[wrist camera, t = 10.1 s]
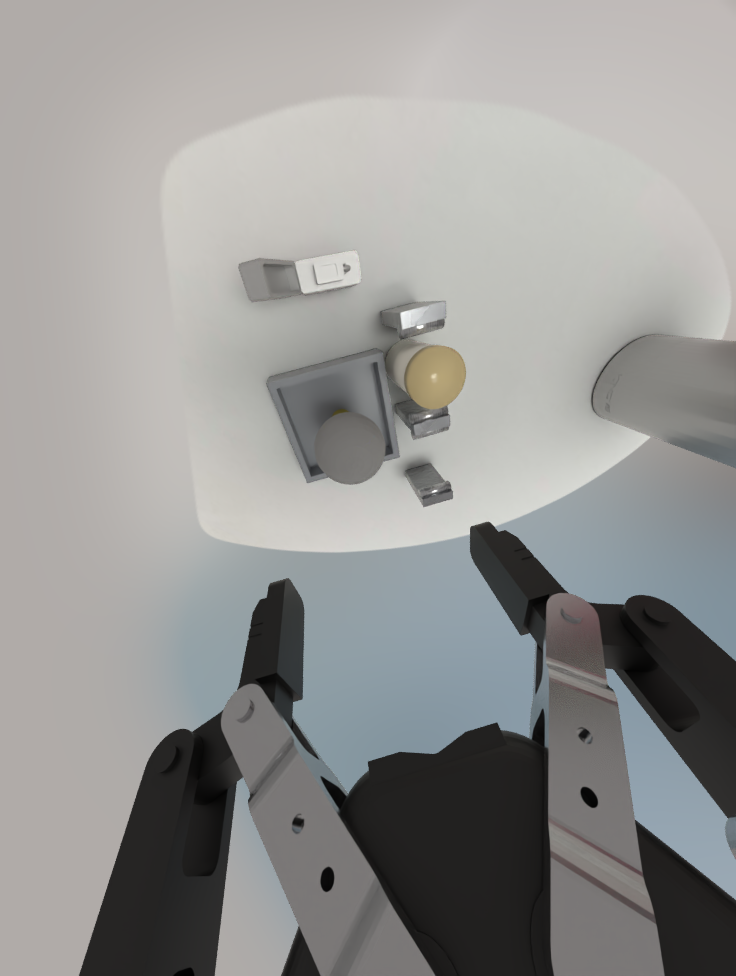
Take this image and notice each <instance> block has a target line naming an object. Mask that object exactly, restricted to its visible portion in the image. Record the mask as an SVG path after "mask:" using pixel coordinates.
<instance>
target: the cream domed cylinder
mask: <svg viewBox="0 0 736 976" xmlns="http://www.w3.org/2000/svg"><path fill="white" fill-rule="evenodd" d="M385 369H386V373H387V375H388V377H389V378H390V380H391V381H393V382H394V383H395V384H396V385H397V386H399V387H400V388H401V389H402V390H404V391H405V392H406V393H407V394H408V395H409V396H410V398H411V399H412V400H414V401H415V402H416V403H417V404H418V405H420V406H421V407H424V408H427V409H439V408H442V407H444V406H446V405H448V404H449V403H451V402H452V401H453V400H454V399H455V398H456V397H457V396H458V394H459V393H460V391H461V390H462V387H463V385H464V382H465V377H466V368H465V364H464V361H463V359H462V357H461V355H460V354H459V353H458V352H457V351H455V350H454V349H452V348H449V347H446V346H441V345H430V344H426V343H422V342H418V341H414V340H401V341H399V342H397V343H396V344H394V345H393V346H392V347H391V349H390V350H389V352H388V354H387V356H386V360H385Z"/></svg>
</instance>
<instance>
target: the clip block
mask: <svg viewBox="0 0 736 976" xmlns="http://www.w3.org/2000/svg"><path fill="white" fill-rule="evenodd" d="M381 317H382V323H383V325H386V326H390V327H394V328H398V335H399V338H400V339H404V338H408V337H412V336H416V335H419V334H423V333H427V332H431V331H434V330H438V329H442V328H443V327H444V323H445V321H444V318H446V301H430V302H415V303H411V304H407V305H403V306H399V307H396V308H392V309H388V310H384V311H381ZM395 407H396V414H397V415H398V416H399V417H400V418H401V420H402V421H403V422H404V423H405V424H406V426H407V427H408V428H409V429H410V430H411V436H412V438H413V440H415V439H419V438H422V437H426V436H429V435H433V434H436V433H440V432H443V431H447V430H448V429H449V426H450V415H449V414H448V408H447V406H444V407H442V408H439V409H427V408H424V407H421V406H420V405H418V404H417V403H416V402H415V401H414V400H409V401H405V402H402V403H398V404H395ZM405 472H406V478H407V480H408V481H409V483H410V485H411V486H412V488H413V490H414V491H415V493H416V495H417V497H418V498H419V500H420V502H421V503H422V505H423V507H426V506H429V505H433V504H436V503H440V502H443V501H446V500H450V499H453V491H452V490H451V484H450V482H449V481H444V480H443V478H442V477H441V476H440V474H439V473H438V472H437V471H436V469H435V468H434V467H433V466H432V464H427V465H424V466H420V467H417V468H413V469H410V470H406V471H405Z"/></svg>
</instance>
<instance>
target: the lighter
mask: <svg viewBox="0 0 736 976" xmlns="http://www.w3.org/2000/svg"><path fill="white" fill-rule="evenodd" d="M239 271H240V274H241V277H242V280H243V283H244V286H245V289H246V291H247V294H248V297H249V299H250V301H251V302H257V301H265V300H273V299H280V298H286V297H291V296H296V295H301V293H302V294H304V295H305V296H306V295H311V294H316V293H321V292H326V291H331V290H336V289H342V288H347V287H352V286H354V285H356V284H359V283H360V281H361V280H362V279H361V272H360V264H359V257H358V253H357V252H356V251H355V250H352V251H347V252H341V253H336V254H331V255H325V256H320V257H315V258H309V259H304V260H298V261H296V264H295V263H294V262H293V261H285V260H273V259H261V258H259V259H255V260H252V261H248V262H244V263H241V264H239Z"/></svg>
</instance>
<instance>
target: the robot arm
mask: <svg viewBox="0 0 736 976" xmlns="http://www.w3.org/2000/svg"><path fill="white" fill-rule="evenodd" d="M593 407H594V410H595V412H596V413H597V414H598V416H600V417H602V418H604V419H607V420H609V421H612V422H614V423H617V424H620V425H622V426H625V427H628V428H630V429H633V430H635V431H638V432H640V433H643V434H646V435H648V436H651V437H654V438H656V439H659V440H662V441H664V442H667V443H670V444H672V445H675V446H678V447H681V448H683V449H686V450H688V451H691V452H694V453H696V454H699V455H702V456H704V457H707V458H710V459H712V460H715V461H718V462H721V463H723V464H726V465H729V466H731V467H734V468H736V341H724V340H713V339H702V338H691V337H679V336H667V335H648V336H645V337H642V338H640V339H637V340H635V341H633V342H632V343H630V344H629V345H627V346H626V347H625V348H623V349H622V350H621V351H620V352H619V353H618V354H617V355H616V356H615V357H614V358H613V359H612V360H611V361H610V362H609V363H608V365H607V366H606V368H605V369H604V371H603V372H602V374H601V376H600V378H599V379H598V381H597V384H596V387H595V390H594V394H593ZM470 552H471V556H472V559H473V561H474V563H475V565H476V566H477V568H478V569H479V571H480V573H481V574H482V575H483V577H484V579H485V580H486V582H487V583H488V585H489V586H490V588H491V590H492V591H493V593H494V594H495V596H496V598H497V599H498V601H499V602H500V604H501V605H502V607H503V609H504V610H505V612H506V613H507V615H508V616H509V618H510V620H511V621H512V623H513V624H514V626H515V627H516V629H517V630H518V632H519V634H520V635H525V634H528V633H531V635H532V636H533V638H534V639H535V641H536V643H535V661H534V686H533V687H534V688H533V701H532V708H531V716H530V717H531V718H530V734H529V738H527V737H525V736H523V735H520V734H517V733H514V732H509V731H502V730H500V728H499V726H498V723H494V724H490V725H487V726H484V727H480V728H477V729H474V730H471V731H467V732H465V733H464V734H463V735H461V736H460V737H458V738H457V739H456V740H454V741H453V742H452V743H451V744H449V745H448V746H447V747H445V748H444V749H443V750H441V751H440V752H439V753H436V754H424V753H423V754H422V753H406V752H398V753H395V754H392V755H388V756H385V757H382V758H378V759H375V760H372V761H369V762H368V766H369V771H368V772H367V773H365V774H364V775H363V776H362V777H361V778H360V779H359V780H358V781H357V783H356V784H355V785H354V786H353V788H352V789H351V790H350V792H349V794H348V793H347V791H346V790H345V788H344V787H343V786H342V784H341V783H340V781H339V780H338V778H337V777H336V776H335V774H334V773H333V772H332V771H331V769H330V768H329V767H328V766H327V765H326V764H325V762H324V761H323V760H322V758H321V757H320V755H319V754H318V752H317V751H316V749H315V748H314V747H313V745H312V744H311V742H310V741H309V739H308V738H307V736H306V735H305V733H304V732H303V730H302V729H301V727H300V726H299V724H298V723H297V722H296V720H295V719H294V717H293V716H292V711H293V702H295V701H298V700H301V699H302V698H303V650H304V649H303V648H304V605H303V602H302V599H301V597H300V595H299V594H298V592H297V590H296V589H295V587H294V586H293V584H292V582H291V580H290V579H289V578H287V579H283V580H280V581H276V582H273V583H270V585H269V587H268V594H267V598H265V599H261V600H260V601H259V603H258V604H257V606H256V608H255V610H254V612H253V615H252V620H251V629H250V631H249V636H248V637H249V640H248V641H247V647H246V652H245V657H244V663H243V668H242V673H241V679H240V683H239V687H238V689H237V691H236V692H235V693H234V694H233V695H232V696H231V698H230V699H229V700H228V702H227V704H226V705H225V708H224V710H223V711H222V712H220V713H219V714H218V715H216V716H215V717H213V718H212V719H210V720H209V721H207V722H206V723H205V724H203V725H202V726H200V727H199V728H197V729H196V730H194V731H193V732H191V731H189V730H187V729H179V730H176V731H174V732H172V733H170V734H169V735H168V736H167V737H165V738H164V739H163V740H162V741H161V742H160V744H159V745H158V746H157V747H156V749H155V750H154V751H153V753H152V755H151V756H150V758H149V760H148V762H147V765H146V767H145V770H144V774H143V777H142V780H141V783H140V786H139V789H138V792H137V795H136V799H135V802H134V805H133V808H132V811H131V814H130V818H129V821H128V824H127V827H126V830H125V834H124V836H123V840H122V843H121V846H120V849H119V852H118V855H117V858H116V861H115V865H114V868H113V871H112V874H111V877H110V880H109V883H108V886H107V890H106V893H105V896H104V899H103V903H102V905H101V908H100V912H99V915H98V918H97V921H96V924H95V927H94V930H93V933H92V937H91V940H90V943H89V946H88V950H87V953H86V956H85V959H84V962H83V965H82V968H81V971H80V974H79V976H215V967H216V958H217V950H218V940H219V932H220V924H221V914H222V906H223V898H224V889H225V880H226V871H227V863H228V854H229V845H230V837H231V828H232V819H233V810H234V802H235V792H236V784H237V781H239V780H240V779H241V778H242V777H243V778H244V780H245V782H246V784H247V786H248V789H249V792H250V798H249V800H248V805H249V810H250V813H251V816H252V818H253V821H254V823H255V825H256V827H257V830H258V832H259V834H260V837H261V839H262V841H263V844H264V845H265V848H266V851H267V853H268V855H269V857H270V860H271V862H272V864H273V867H274V869H275V871H276V873H277V876H278V878H279V880H280V883H281V885H282V887H283V890H284V892H285V894H286V897H287V899H288V901H289V904H290V906H291V908H292V911H293V913H294V915H295V917H296V920H297V922H298V924H299V927H298V930H297V933H296V935H295V938H294V941H293V944H292V947H291V949H290V953H289V955H288V958H287V961H286V963H285V966H284V969H283V972H282V975H281V976H736V900H735V899H734V898H732V897H731V896H730V895H729V894H727V893H726V892H725V891H724V890H722V889H721V888H720V887H719V886H717V885H716V884H715V883H714V882H712V881H711V880H710V879H709V878H707V877H706V876H705V875H703V874H702V873H701V872H700V871H699V870H697V869H696V868H695V867H694V866H692V865H691V864H690V863H688V862H687V861H686V860H685V859H684V858H682V857H681V856H680V855H679V854H677V853H676V852H675V851H674V850H672V849H671V848H670V847H669V846H667V845H666V844H665V843H663V842H662V841H661V840H660V839H658V838H657V837H656V836H655V835H653V834H652V833H651V832H650V831H648V830H647V829H646V828H645V827H644V826H642V825H641V824H640V823H639V822H637V821H636V820H635V818H634V811H633V804H632V798H631V790H630V783H629V777H628V770H627V763H626V756H625V749H624V742H623V735H622V728H621V721H620V714H619V708H618V702H617V698H616V695H615V692H614V691H613V689H611V688H610V687H609V686H608V683H607V678H606V670H605V668H607V669H613V670H615V672H616V673H617V675H618V676H619V677H620V679H621V680H622V681H623V682H624V684H625V685H626V686H627V688H628V689H629V690H630V691H631V693H632V694H633V696H634V697H635V698H636V699H637V701H638V702H639V703H640V705H641V706H642V707H643V709H644V710H645V711H646V712H647V714H648V715H649V716H650V718H651V719H652V720H653V722H654V723H655V724H656V725H657V727H658V728H659V729H660V731H661V732H662V733H663V735H664V736H665V737H666V738H667V740H668V741H669V742H670V744H671V745H672V746H673V748H674V749H675V750H676V751H677V753H678V754H679V755H680V757H681V758H682V759H683V760H684V762H685V763H686V764H687V766H688V767H689V768H690V769H691V771H692V772H693V774H694V775H695V776H696V777H697V779H698V780H699V781H700V783H701V784H702V785H703V787H704V788H705V789H706V790H707V792H708V793H709V794H710V796H711V797H712V798H713V799H714V801H715V802H716V803H717V805H718V806H719V807H720V809H721V810H722V811H723V813H724V814H725V815H726V816H727V818H728V820H727V822H726V826H725V830H726V831H725V832H726V838H727V842H728V844H729V847H730V849H731V851H732V853H733V855H734V857H735V859H736V661H735V660H734V659H732V658H731V657H730V656H729V655H728V654H727V653H726V652H725V651H723V650H722V649H721V648H720V647H719V646H717V644H716V643H714V642H713V641H712V640H711V639H710V638H709V637H708V636H707V635H705V634H704V633H703V632H702V631H701V630H700V629H699V628H698V627H696V626H695V625H694V624H693V623H692V622H691V621H690V620H689V619H687V618H686V617H685V616H684V615H683V614H682V613H681V612H680V611H678V610H677V609H676V608H675V607H673V606H672V605H670V604H668V603H666V602H665V601H662V600H660V599H658V598H655V597H651V596H645V595H636V596H633V597H631V598H629V599H628V600H627V601H626V603H625V605H621V604H620V605H619V604H596V603H589V602H587V601H585V600H584V599H582V598H580V597H578V596H576V595H573V594H569V593H568V592H567V591H565V590H564V589H563V588H562V587H561V585H560V584H559V583H558V582H557V581H556V580H555V579H554V578H553V576H552V575H551V574H550V573H549V572H548V571H547V570H546V569H545V568H544V566H543V565H542V564H541V563H540V562H539V561H538V560H537V559H536V558H535V557H534V556H533V554H532V553H531V552H530V551H529V550H528V549H527V548H526V546H525V545H524V544H523V543H522V542H521V541H520V540H519V539H518V538H517V537H516V536H514V535H513V534H511V533H509V532H507V531H506V530H504V531H500V532H498V531H497V530H496V529H495V527H494V526H493V525H492V524H491V523H490V522H485V523H482V524H478V525H475V526H471V528H470Z"/></svg>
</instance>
